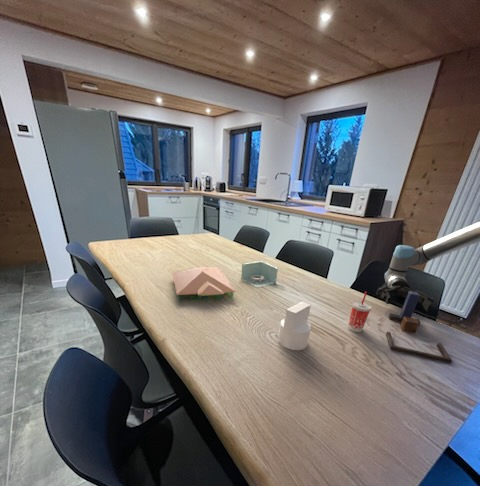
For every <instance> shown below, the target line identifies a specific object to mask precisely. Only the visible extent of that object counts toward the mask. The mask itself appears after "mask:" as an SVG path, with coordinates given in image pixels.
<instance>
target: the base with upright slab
mask: <svg viewBox="0 0 480 486" xmlns="http://www.w3.org/2000/svg"><path fill="white" fill-rule="evenodd" d="M311 305H312V304H311V303H309V302H307V301H303V300H302V301H300V302H298V303H296V304H294V305H292V306H289V307H288V308H286V310H285V315H284V317H285V318H283V319H281V321H280V324H279V329H278V336H277V342H278V344H279V345H280V346H282V347H283V348H286V349H288V350H292V351H301V350H304V349H306V348H307V347H308V343H309V342H308V341H309V339H310V338H309V337H310V333H311V329H312V325H311V324H310V323H309V322H308V320H309V316H310V311H311V307H312V306H311Z"/></svg>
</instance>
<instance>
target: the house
mask: <svg viewBox="0 0 480 486" xmlns="http://www.w3.org/2000/svg"><path fill="white" fill-rule="evenodd" d="M171 274H172V278H173V283H174V288H175V292H176V296H177V298H178V302H181V300H180V298H183V296H188V295H192V296H191V298H195V297H196V300H195V299H192V302H193V301H194V302H196V301H201V297H204V301H205V302H207V303H211V302H213V300H208V299H215V296H217V302H220V301H221V297H223V296H225V295H227V294H228V295H229V296H230V297H226V300H228V299H229V300H230V299H233V298H234V293H236V290H235V289H234V287H233V286H232V284H231V282H230V281H229V280H228V278H227V277H226V276H225V274H224V273H223V271H222V270H221V268H220V267H217V266H216V267H215V266H201V267H199V266H198V267H189V268H188V269H187V270H178V271H172V272H171ZM193 295H194V296H193Z"/></svg>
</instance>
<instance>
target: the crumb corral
mask: <svg viewBox="0 0 480 486" xmlns="http://www.w3.org/2000/svg"><path fill="white" fill-rule="evenodd" d="M385 336H386V339H387V342H388V345H389V349H390V350H391V351H395V352H399V353H404V354H407V355H408V354H409V355H412V356H417V357H421V358H425V359H429V360H435V361H438V362H443V363H447V364H451V363H452V362H453V361H452V358H451V356H450V355H449V353H448V351H447V350H446V349H445V347H444V345H443V343H441V342H437V343H436V347H437V349H438V351H439V352H440V354H441V355H438V354H435V353H429V352H424V351H420V350H416V349H413V348H406V347H404V346H403V347H402V346H398V345H395V342H394V339H393V337H392V334H391V332H390V331H386V334H385Z"/></svg>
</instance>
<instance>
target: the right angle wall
mask: <svg viewBox="0 0 480 486" xmlns="http://www.w3.org/2000/svg"><path fill="white" fill-rule="evenodd" d="M278 271H279V268H278V267H277V266H274V265H272V264H270V263H268V262H265V261H262V260H259V261H252V262H246V263H242V264H241V275H240V279H241V280H243V281H244V282H246V283H247V284H250V285H252V286H254V287H256V288H259V287H265V286H268V285H273V284H276V283H277V279H278V273H279V272H278Z"/></svg>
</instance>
